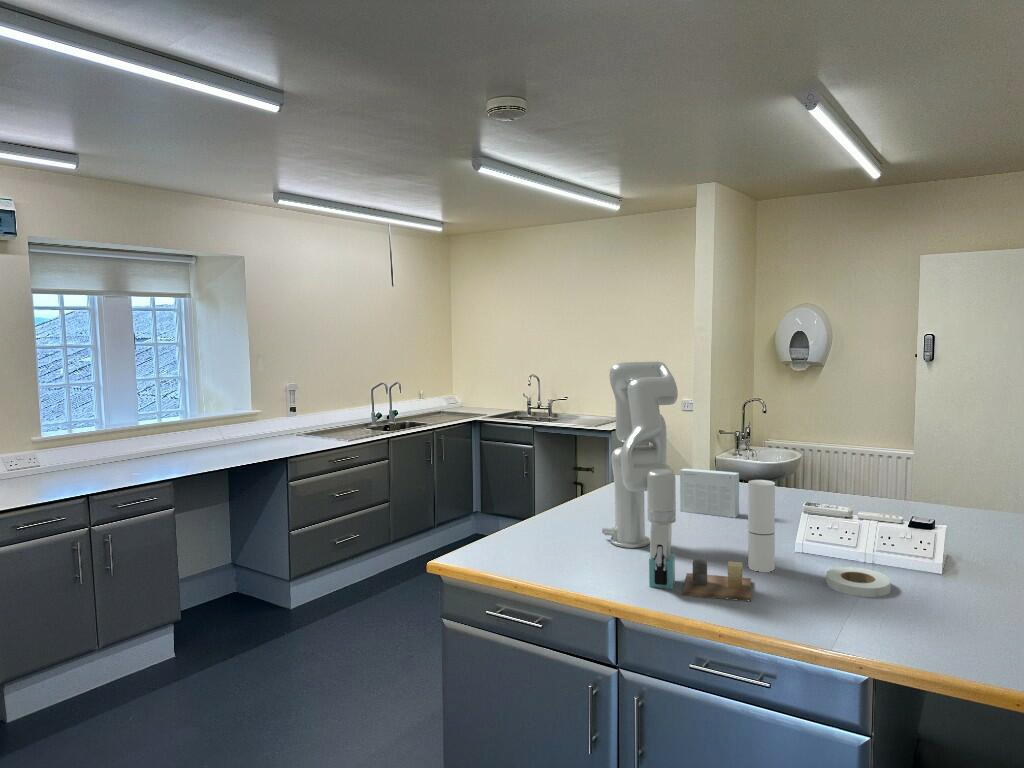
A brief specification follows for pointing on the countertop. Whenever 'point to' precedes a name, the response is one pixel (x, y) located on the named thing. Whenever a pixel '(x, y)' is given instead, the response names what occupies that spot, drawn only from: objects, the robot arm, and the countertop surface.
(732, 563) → the wooden post
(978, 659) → the countertop surface
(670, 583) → the aqua foam cube
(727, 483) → the skincare box
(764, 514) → the cylindrical container
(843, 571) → the roll of tape
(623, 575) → the countertop surface
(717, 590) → the walnut board
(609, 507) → the countertop surface
